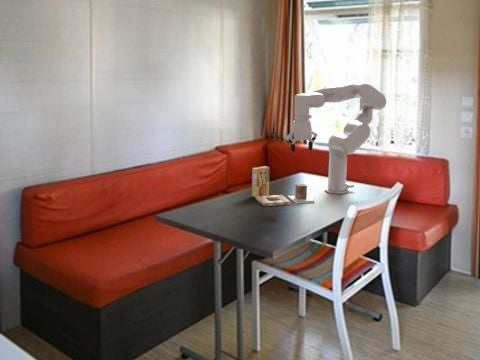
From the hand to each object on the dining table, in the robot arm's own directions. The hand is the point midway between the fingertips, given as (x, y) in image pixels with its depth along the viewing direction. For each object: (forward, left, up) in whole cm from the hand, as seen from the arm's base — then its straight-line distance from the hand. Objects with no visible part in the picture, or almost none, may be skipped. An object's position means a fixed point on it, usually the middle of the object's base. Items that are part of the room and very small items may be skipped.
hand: (301, 150), depth 284 cm
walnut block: (+3, +9, -23) cm, 25 cm away
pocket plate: (+18, +9, -24) cm, 32 cm away
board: (+3, +9, -24) cm, 26 cm away
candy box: (+21, -4, -24) cm, 32 cm away
